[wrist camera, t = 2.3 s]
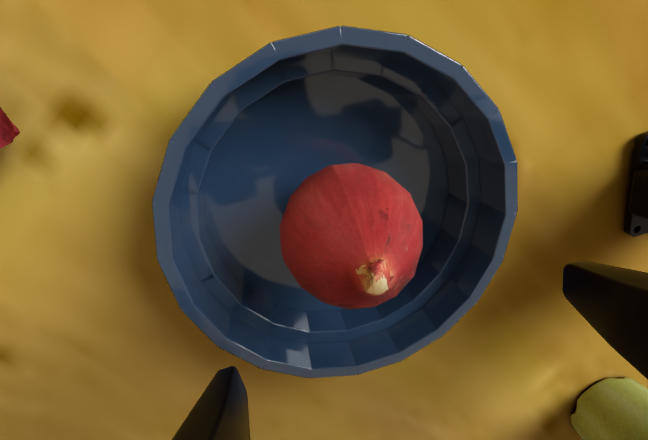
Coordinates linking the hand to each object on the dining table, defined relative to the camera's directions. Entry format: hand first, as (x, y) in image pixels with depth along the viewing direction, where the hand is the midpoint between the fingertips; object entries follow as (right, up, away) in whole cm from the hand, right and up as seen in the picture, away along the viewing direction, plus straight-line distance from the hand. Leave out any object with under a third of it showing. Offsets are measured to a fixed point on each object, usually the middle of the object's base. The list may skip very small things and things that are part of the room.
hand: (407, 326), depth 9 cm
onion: (-2, +3, +9) cm, 10 cm away
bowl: (-2, +3, +9) cm, 10 cm away
